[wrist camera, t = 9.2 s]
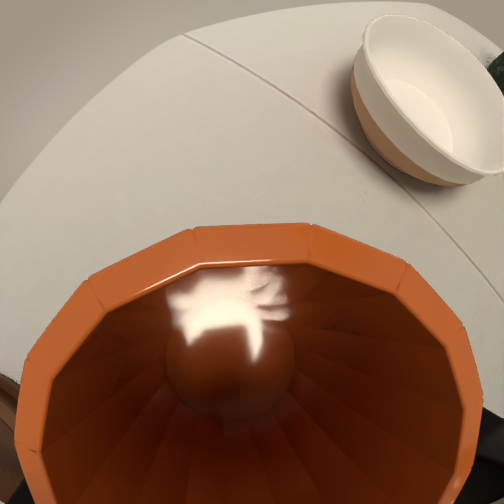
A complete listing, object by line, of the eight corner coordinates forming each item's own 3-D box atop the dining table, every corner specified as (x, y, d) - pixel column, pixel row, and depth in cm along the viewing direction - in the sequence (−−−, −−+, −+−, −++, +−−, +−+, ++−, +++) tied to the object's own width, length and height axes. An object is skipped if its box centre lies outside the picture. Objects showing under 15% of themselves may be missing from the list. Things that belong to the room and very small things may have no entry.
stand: (102, 505, 17) (93, 520, 15) (2, 505, 15) (-9, 515, 13) (27, 355, 19) (9, 359, 16) (-58, 382, 17) (-74, 385, 14)
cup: (327, 349, 16) (525, 405, 4) (237, 447, 14) (279, 639, 2) (223, 258, 16) (245, 115, 4) (131, 361, 15) (-36, 457, 3)
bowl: (425, 68, 28) (459, 28, 20) (485, 192, 26) (537, 167, 18) (305, 64, 26) (329, 4, 18) (370, 221, 24) (428, 188, 16)
